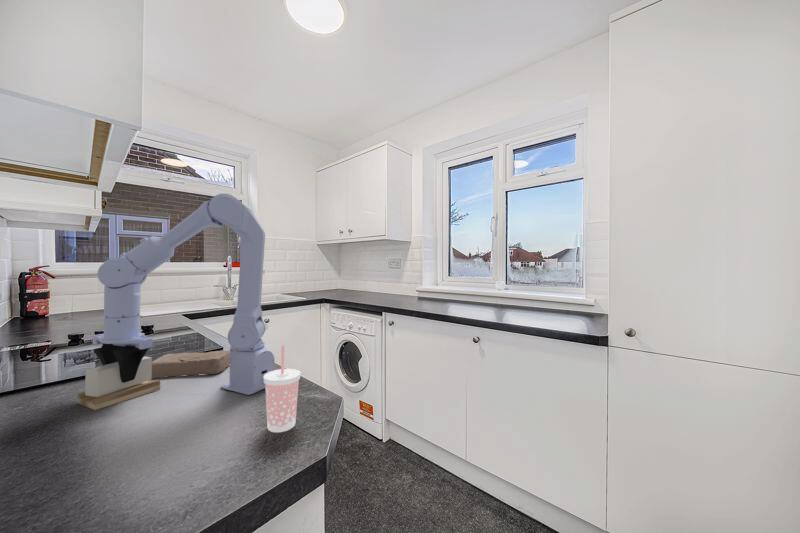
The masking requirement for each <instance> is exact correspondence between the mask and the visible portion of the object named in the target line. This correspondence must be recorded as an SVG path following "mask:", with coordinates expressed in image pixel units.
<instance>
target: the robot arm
mask: <svg viewBox="0 0 800 533" xmlns="http://www.w3.org/2000/svg"><path fill="white" fill-rule="evenodd" d="M210 199H211V200H207V201H205V202H203V203H202V204H201V205H200V206H199V207H198V208H197V209H196V210H194V211H193V212H192V213H191V214H189V215H188V216H187V217H186V218H183V220H182V221H180V222H179V223H177V224H176V225H175V226H174V227H172V228H171V229H170V230H169V231H167V232H166V233H165V234H163V235H162V236H150V237H143V238H141V239H140V240H139V244H138V245H136V246H135V247H134V248H132V249H131V250H129V251H128V252H122V253H121V254H119V258H111V259H107V260H105V261H104V262H103V263H102V264H101V265H100V266H99V268H98V270H97V274H96V275H97V279H98V280H99V282H100V283H101V284H102V285H103V286H104V292H103V294H104V296H103V333H98V334H93V335H92V345H102V346H100V347H98V348H97V347H96V348H93V354H95V355H96V356H97V358H98V359H99V361H100V363H101V366H103V365H107V364H111V363H115V362H118V364H119V369H120V378H121V381H122V382H123V383H125V382H128V381H131V380H134V379H135V377H136V373H137V370H138V367H139V365H140V362H141V360H142V358H143V357H145V355H146V354H147V352H148V351H149V349H151V348H152V347H153V338H152V337H148V336H145V333H144V332H140V331H141V288H142V284H143V283H145V281H146V279H147V277H148V275H149V274H150V273H152V272H153V271H155V270H156V269H157V268H159V267H160V266H162V265H163V264H164V263H166V262H167V261H168V260H170V259H171V258H173V257H174V255H175V249H176V248H177V247H179V246H180V245H181V244H183V243H185V242H186V241H188V240H190V239H191V238H193V237H194V236H196V235H198V234H199V233H200V232H202V231H204V230H205V229H207V228H223V227H224V225H225V226H227V227H229V228H231V230H232V231H233V232H234V233H235V234H237V236H238V237H239V238H241V243H240V244H241V245H240V259H239V262H240V263H239V274H238V275H239V276H238V290H237V303H236V304H237V305H236V310H235V312H234V315H233V322H232V325H231V327H230V329H229V330H228V333H227V341H228V343H229V345H230V347H229V351H230V365H229V382H227V383H223V384H222V385H220V389H224V390H227V391H231V392H235V393H240V394H243V395H247V396H250V395H253V394H256V393H257V392H260V391H262V390H265V383H264V378H263V376H264V375H265V374H266V373H268V372H270V371H274V370H275V356H274V354H273V352H272V351H270V350H268V349H267V348H266V347H265V342H264V341H263V339H262V338H263V336H264V334H265V332H266V323H265V322H264V320H263V309H262V291H263V290H262V289H263V275H264V274H263V273H264V258H265V244H266V243H265V242H266V233H265V230H264V228H263V227H262V225H261V224H260V222H259V221H258V219H257V218H256V215H255V214H254V212H253V211H252V210H251V209H250V208H248V206H247V205H245V204H244V203H243V202H242V201H241V200H239V199H238V198H237V197H236V196H234V195H233V194H229V193H219V194H216V195H214V196H213V197H212V198H210ZM223 224H224V225H223Z"/></svg>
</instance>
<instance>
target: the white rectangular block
mask: <svg viewBox="0 0 800 533" xmlns="http://www.w3.org/2000/svg"><path fill="white" fill-rule="evenodd" d="M152 361H153V357H151V356H144V357H143V358H142V360H141V362H140V365H139V367H138V370H137V373H136V377H135V379H134V380H131V381H128V382H125V383H123V382H122V381H121V378H120V369H119V364H118V362H115V363H111V364H107V365H99V366H96V367H93V368H88V369H86V370H85V380H84V382H85V383H84V386H85V387H84V388H85V390H84V391H85V395H87V396H93V397H100V396H103V395H106V394H109V393H112V392H115V391H118V390H121V389H124V388H127V387H130V386H133V385H136V384H139V383H142V382H145V381H148V382H149V381H151V380H152V379H153V378H152Z"/></svg>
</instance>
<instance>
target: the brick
mask: <svg viewBox="0 0 800 533" xmlns="http://www.w3.org/2000/svg"><path fill="white" fill-rule="evenodd" d="M229 364H230V350H215V351H212V350H211V351H208V352H181V353H179V352H177V353H167V354H163V355H161V356H159V357H158V358H155V360H152V377H160V378H165V377H164V376H178V377H182V376H181V375H198V376H200V375H199V374H211V375H216V374H219V373H221V372H223V371H224V370H226V369H227V368H228V367H229V366H230V365H229ZM228 365H229V366H228ZM227 366H228V367H227ZM226 367H227V368H226Z"/></svg>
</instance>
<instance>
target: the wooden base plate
mask: <svg viewBox="0 0 800 533" xmlns="http://www.w3.org/2000/svg"><path fill="white" fill-rule="evenodd" d="M159 390H161V380H159V379H156V380H152V381H149V380H148V381H145V382H142V383H139V384H136V385H133V386H130V387H127V388H124V389H121V390H118V391H115V392H112V393H109V394H106V395H103V396H100V397H93V396H87V395H85V390H84V391H81V392H77V404H79V405H81V406H84V407H87V408H88V409H91V410H94V411H96V410H100V409H102V408H106V407H109V406H112V405H114V404H115V405H116V404H119V403H122V402H125V401H128V400H132V399H134V398H137V397H140V396H143V395H148V394H150V393H153V392H156V391H159Z"/></svg>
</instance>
